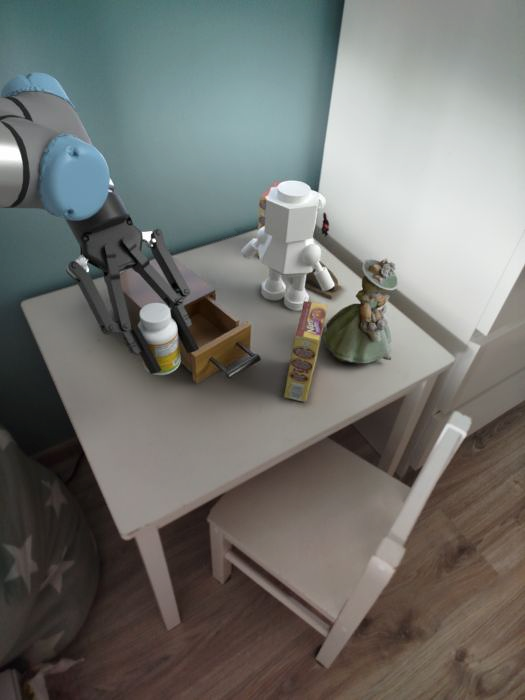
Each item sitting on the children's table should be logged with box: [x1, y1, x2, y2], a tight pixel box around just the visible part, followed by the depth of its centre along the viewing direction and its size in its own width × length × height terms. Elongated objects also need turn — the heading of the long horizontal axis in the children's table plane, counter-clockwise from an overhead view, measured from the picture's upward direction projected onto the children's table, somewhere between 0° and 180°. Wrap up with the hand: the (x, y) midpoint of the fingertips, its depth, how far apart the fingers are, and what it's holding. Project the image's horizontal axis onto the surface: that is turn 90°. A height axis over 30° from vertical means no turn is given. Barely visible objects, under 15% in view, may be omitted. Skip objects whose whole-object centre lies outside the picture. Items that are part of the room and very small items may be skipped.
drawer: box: [178, 296, 262, 384], centre depth 84 cm, size 20×12×7 cm, turn 43°
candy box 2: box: [283, 301, 328, 403], centre depth 78 cm, size 9×4×15 cm, turn 167°
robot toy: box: [241, 179, 335, 312], centre depth 92 cm, size 22×12×25 cm, turn 58°
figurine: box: [322, 257, 399, 365], centre depth 83 cm, size 14×14×20 cm
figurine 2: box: [304, 260, 342, 300], centre depth 102 cm, size 14×4×9 cm, turn 56°
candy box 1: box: [256, 181, 281, 257], centre depth 108 cm, size 9×4×15 cm, turn 154°
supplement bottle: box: [138, 303, 181, 376], centre depth 64 cm, size 5×5×10 cm
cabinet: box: [120, 255, 217, 329], centre depth 91 cm, size 16×14×9 cm
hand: (175, 361), depth 63 cm, fingers closed on supplement bottle, 5 cm apart
